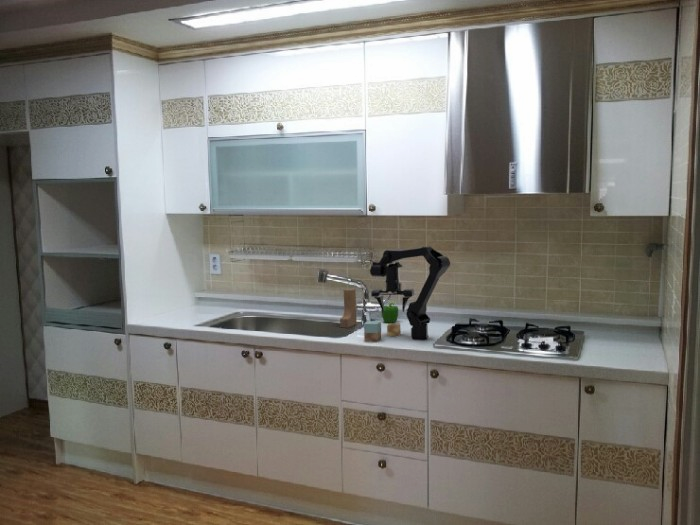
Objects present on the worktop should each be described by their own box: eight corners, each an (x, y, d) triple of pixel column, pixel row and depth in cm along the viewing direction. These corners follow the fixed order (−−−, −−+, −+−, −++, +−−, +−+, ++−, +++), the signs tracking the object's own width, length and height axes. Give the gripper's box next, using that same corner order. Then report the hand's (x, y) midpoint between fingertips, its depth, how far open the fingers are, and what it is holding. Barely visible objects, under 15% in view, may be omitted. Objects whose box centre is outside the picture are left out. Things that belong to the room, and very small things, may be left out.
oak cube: (400, 334, 283) (400, 323, 282) (398, 336, 278) (397, 325, 278) (390, 333, 284) (389, 323, 284) (387, 336, 280) (387, 325, 279)
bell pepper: (378, 322, 312) (377, 302, 311) (389, 319, 317) (389, 300, 316) (390, 324, 306) (389, 304, 305) (401, 321, 311) (401, 302, 310)
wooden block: (347, 328, 301) (346, 291, 299) (339, 327, 303) (338, 291, 301) (357, 324, 308) (355, 288, 307) (349, 324, 311) (347, 288, 309)
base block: (381, 339, 275) (381, 330, 275) (377, 342, 269) (377, 333, 269) (368, 338, 277) (368, 329, 276) (364, 341, 271) (364, 332, 271)
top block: (381, 330, 274) (380, 321, 274) (377, 333, 269) (377, 324, 268) (368, 329, 276) (367, 321, 276) (364, 332, 271) (364, 323, 270)
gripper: (416, 275, 284) (417, 308, 285) (376, 275, 289) (377, 308, 291) (411, 278, 273) (412, 313, 274) (370, 278, 279) (371, 312, 280)
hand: (393, 311), depth 280 cm, fingers open, 9 cm apart
